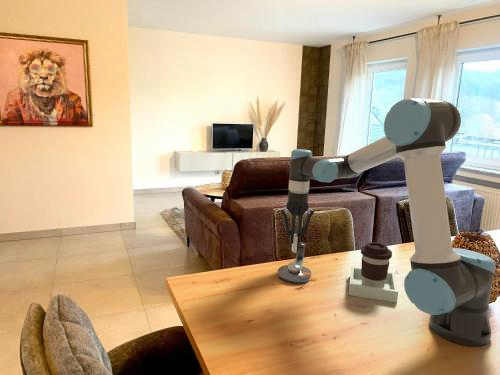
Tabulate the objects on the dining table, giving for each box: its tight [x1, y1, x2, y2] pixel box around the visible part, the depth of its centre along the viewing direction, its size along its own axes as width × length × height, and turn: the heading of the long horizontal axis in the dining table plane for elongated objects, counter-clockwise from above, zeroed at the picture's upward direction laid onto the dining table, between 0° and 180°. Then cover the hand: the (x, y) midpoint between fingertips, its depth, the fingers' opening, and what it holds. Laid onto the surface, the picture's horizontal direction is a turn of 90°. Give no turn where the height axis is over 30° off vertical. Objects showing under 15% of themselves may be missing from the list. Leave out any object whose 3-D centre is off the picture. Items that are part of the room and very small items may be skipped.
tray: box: [348, 266, 399, 304], centre depth 128 cm, size 15×15×4 cm
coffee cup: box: [360, 241, 393, 288], centre depth 127 cm, size 10×10×15 cm
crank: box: [287, 241, 307, 274], centre depth 139 cm, size 13×5×7 cm, turn 160°
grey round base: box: [277, 264, 318, 285], centre depth 136 cm, size 12×14×2 cm
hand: (294, 251), depth 143 cm, fingers closed
